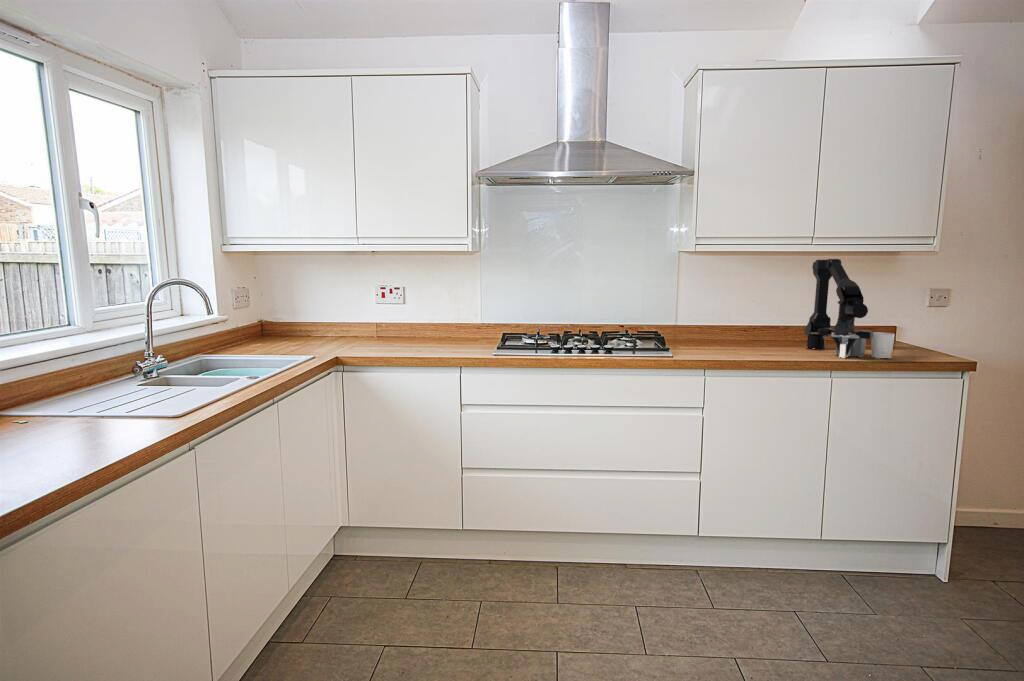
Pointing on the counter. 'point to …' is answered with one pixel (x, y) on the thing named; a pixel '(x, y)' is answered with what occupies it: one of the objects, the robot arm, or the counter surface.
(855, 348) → the dispenser
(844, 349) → the white rectangular block
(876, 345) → the white cup
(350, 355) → the counter surface
